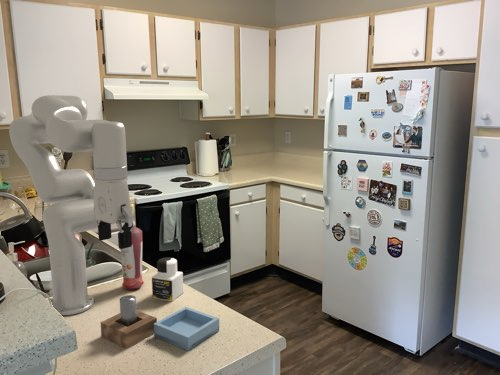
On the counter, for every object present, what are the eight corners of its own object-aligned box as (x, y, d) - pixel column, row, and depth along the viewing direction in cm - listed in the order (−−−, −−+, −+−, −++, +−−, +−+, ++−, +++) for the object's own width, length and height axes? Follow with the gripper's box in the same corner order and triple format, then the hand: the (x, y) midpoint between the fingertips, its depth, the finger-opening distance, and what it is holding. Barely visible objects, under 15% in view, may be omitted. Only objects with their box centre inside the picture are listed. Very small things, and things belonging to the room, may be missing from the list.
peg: (118, 335, 116) (116, 299, 114) (130, 329, 119) (128, 293, 117) (128, 339, 113) (126, 303, 112) (140, 333, 117) (139, 297, 115)
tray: (154, 336, 115) (153, 323, 115) (185, 318, 125) (185, 306, 124) (188, 350, 108) (188, 337, 108) (219, 330, 118) (219, 318, 118)
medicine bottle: (152, 298, 138) (150, 261, 135) (164, 289, 144) (162, 254, 142) (172, 302, 135) (171, 264, 133) (183, 292, 142) (182, 257, 140)
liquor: (149, 286, 146) (145, 203, 141) (130, 293, 141) (126, 207, 136) (135, 281, 151) (132, 200, 146) (117, 287, 146) (112, 204, 140)
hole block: (101, 336, 115) (100, 322, 114) (131, 321, 123) (131, 308, 122) (127, 348, 109) (126, 333, 109) (157, 331, 117) (156, 317, 117)
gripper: (79, 172, 109) (84, 239, 112) (114, 180, 97) (119, 255, 100) (107, 169, 114) (111, 233, 117) (144, 176, 102) (147, 247, 105)
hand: (115, 243), depth 109 cm, fingers open, 9 cm apart
